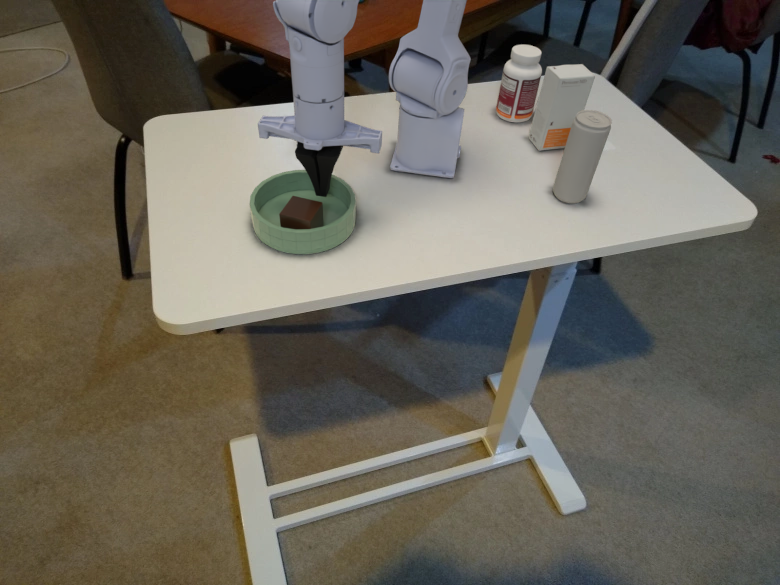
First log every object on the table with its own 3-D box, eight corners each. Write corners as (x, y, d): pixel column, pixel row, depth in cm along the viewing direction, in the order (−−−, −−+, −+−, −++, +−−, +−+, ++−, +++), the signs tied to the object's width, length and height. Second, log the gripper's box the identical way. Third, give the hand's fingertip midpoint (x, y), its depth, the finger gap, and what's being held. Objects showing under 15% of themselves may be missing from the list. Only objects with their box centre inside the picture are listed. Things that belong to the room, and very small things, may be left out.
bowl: (363, 198, 79) (364, 176, 76) (343, 261, 69) (343, 239, 67) (270, 185, 80) (268, 163, 77) (238, 245, 70) (234, 223, 68)
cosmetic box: (538, 152, 90) (559, 78, 81) (527, 138, 92) (545, 65, 84) (573, 148, 91) (596, 75, 82) (560, 134, 94) (582, 62, 85)
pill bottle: (531, 108, 100) (547, 45, 92) (531, 126, 95) (547, 60, 88) (495, 103, 100) (508, 40, 92) (493, 120, 96) (506, 55, 88)
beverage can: (564, 208, 80) (590, 130, 71) (544, 189, 83) (567, 112, 74) (592, 201, 81) (621, 124, 72) (571, 182, 84) (597, 106, 76)
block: (323, 227, 73) (322, 202, 70) (311, 246, 70) (310, 221, 67) (294, 220, 73) (292, 195, 71) (281, 239, 71) (279, 213, 68)
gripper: (243, 100, 61) (258, 202, 71) (376, 116, 60) (372, 218, 70) (264, 71, 66) (274, 171, 76) (387, 86, 65) (382, 185, 75)
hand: (322, 191), depth 73 cm, fingers closed
